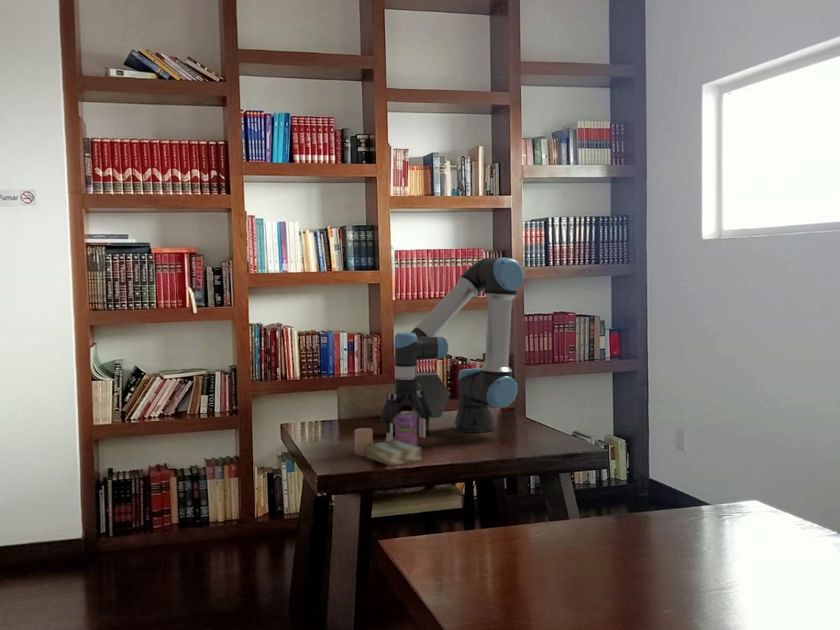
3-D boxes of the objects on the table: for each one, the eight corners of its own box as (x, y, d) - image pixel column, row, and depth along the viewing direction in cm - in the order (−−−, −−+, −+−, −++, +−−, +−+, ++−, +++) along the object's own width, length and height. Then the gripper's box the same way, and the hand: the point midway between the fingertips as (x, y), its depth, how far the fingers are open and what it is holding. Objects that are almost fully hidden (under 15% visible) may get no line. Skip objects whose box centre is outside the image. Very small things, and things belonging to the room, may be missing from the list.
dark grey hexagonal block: (453, 401, 347) (426, 361, 343) (457, 404, 339) (430, 363, 336) (420, 425, 344) (393, 385, 341) (424, 428, 337) (396, 387, 333)
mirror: (397, 451, 277) (397, 439, 277) (421, 459, 266) (421, 446, 266) (366, 457, 270) (366, 444, 270) (390, 465, 259) (390, 452, 259)
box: (411, 451, 277) (411, 416, 277) (395, 451, 279) (394, 416, 278) (418, 444, 288) (417, 411, 287) (402, 444, 289) (401, 410, 288)
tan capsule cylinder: (366, 450, 280) (366, 427, 279) (376, 453, 275) (376, 430, 274) (351, 453, 276) (351, 429, 276) (361, 456, 271) (360, 432, 271)
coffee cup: (412, 436, 301) (411, 401, 301) (389, 435, 303) (389, 400, 302) (415, 431, 310) (415, 397, 309) (394, 430, 311) (393, 396, 310)
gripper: (428, 373, 292) (429, 433, 293) (368, 379, 277) (369, 442, 279) (441, 376, 286) (441, 436, 287) (380, 382, 271) (381, 446, 273)
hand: (406, 439), depth 283 cm, fingers open, 13 cm apart
